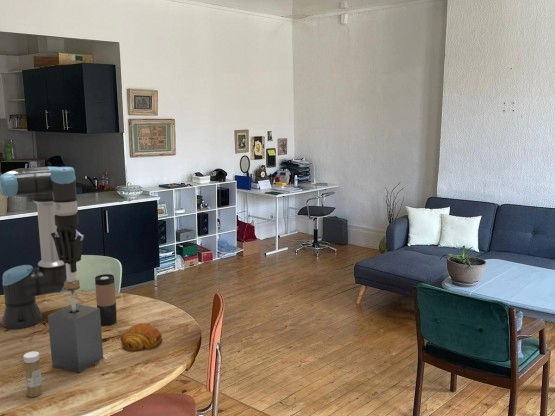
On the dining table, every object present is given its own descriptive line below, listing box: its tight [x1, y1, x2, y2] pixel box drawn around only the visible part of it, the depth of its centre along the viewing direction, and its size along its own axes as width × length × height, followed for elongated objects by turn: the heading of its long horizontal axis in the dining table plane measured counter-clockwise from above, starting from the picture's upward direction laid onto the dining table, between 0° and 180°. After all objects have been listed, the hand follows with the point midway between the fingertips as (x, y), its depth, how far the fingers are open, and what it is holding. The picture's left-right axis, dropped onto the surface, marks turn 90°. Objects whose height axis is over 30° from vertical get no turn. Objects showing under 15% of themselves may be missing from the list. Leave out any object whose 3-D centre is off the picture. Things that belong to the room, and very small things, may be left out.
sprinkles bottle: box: [22, 350, 43, 398], centre depth 174 cm, size 5×5×14 cm
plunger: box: [64, 279, 81, 314], centre depth 193 cm, size 9×9×20 cm
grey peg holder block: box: [47, 303, 104, 374], centre depth 195 cm, size 12×12×19 cm
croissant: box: [120, 323, 163, 351], centre depth 212 cm, size 14×16×8 cm
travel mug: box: [94, 273, 117, 327], centre depth 230 cm, size 8×8×20 cm
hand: (71, 281), depth 191 cm, fingers closed
